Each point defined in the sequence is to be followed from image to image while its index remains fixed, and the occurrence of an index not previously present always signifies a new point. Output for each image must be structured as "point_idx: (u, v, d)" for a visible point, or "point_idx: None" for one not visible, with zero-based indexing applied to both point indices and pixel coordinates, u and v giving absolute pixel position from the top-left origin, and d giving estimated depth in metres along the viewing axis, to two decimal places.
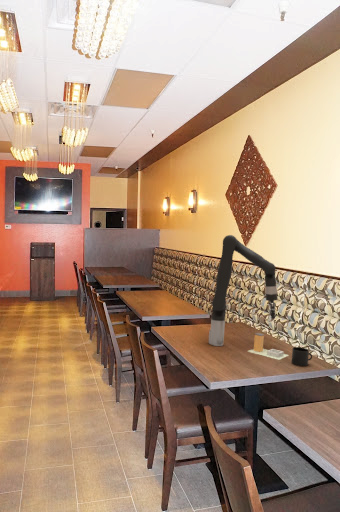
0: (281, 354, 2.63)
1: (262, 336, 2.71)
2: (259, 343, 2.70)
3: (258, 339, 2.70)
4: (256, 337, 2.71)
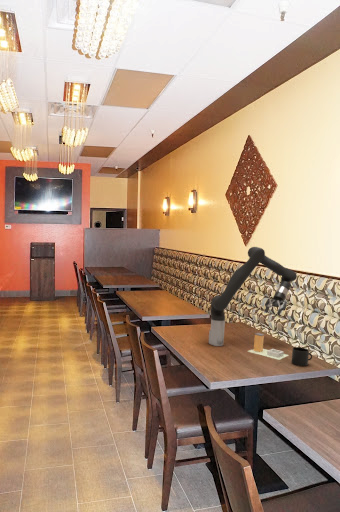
0: (281, 354, 2.63)
1: (262, 336, 2.71)
2: (259, 343, 2.70)
3: (258, 339, 2.70)
4: (256, 337, 2.71)
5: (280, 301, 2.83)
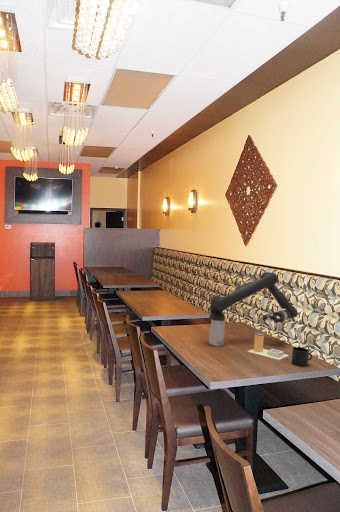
0: (281, 354, 2.63)
1: (262, 336, 2.71)
2: (259, 343, 2.70)
3: (258, 339, 2.70)
4: (256, 337, 2.71)
5: (279, 316, 2.86)
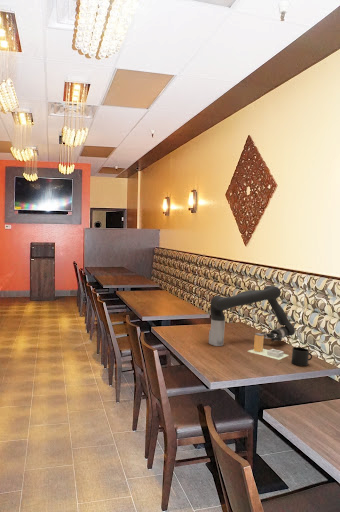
0: (281, 354, 2.63)
1: (262, 336, 2.71)
2: (259, 343, 2.70)
3: (258, 339, 2.70)
4: (256, 337, 2.71)
5: (276, 335, 2.86)
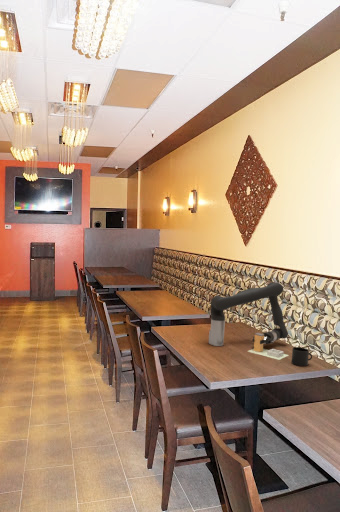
0: (281, 354, 2.63)
1: (262, 336, 2.71)
2: (259, 343, 2.70)
3: (258, 339, 2.70)
4: (256, 337, 2.71)
5: (268, 338, 2.76)
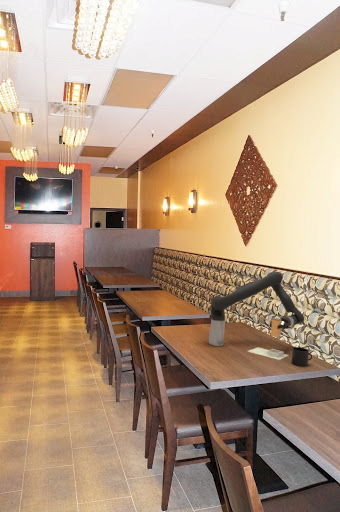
0: (281, 354, 2.63)
1: (279, 321, 2.63)
2: (276, 328, 2.62)
3: (275, 324, 2.63)
4: (273, 322, 2.63)
5: (285, 323, 2.68)
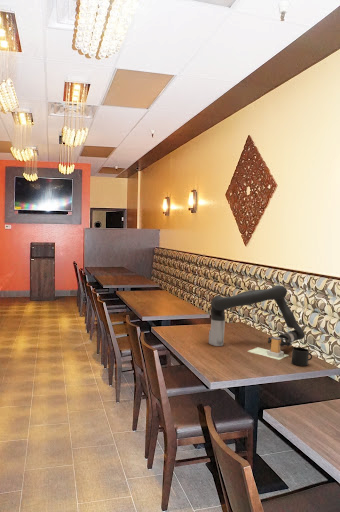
0: (281, 354, 2.63)
1: (279, 340, 2.63)
2: (276, 347, 2.62)
3: (275, 344, 2.62)
4: (273, 341, 2.63)
5: (285, 339, 2.68)
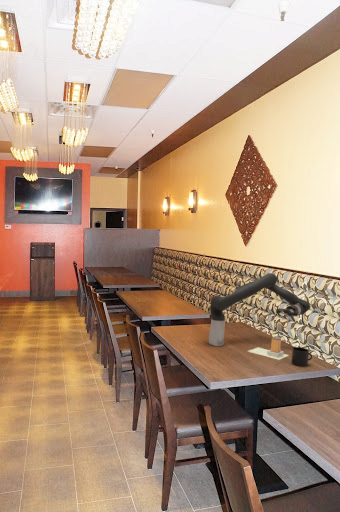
0: (281, 354, 2.63)
1: (279, 340, 2.63)
2: (276, 347, 2.62)
3: (275, 344, 2.62)
4: (273, 341, 2.63)
5: (293, 310, 2.81)
